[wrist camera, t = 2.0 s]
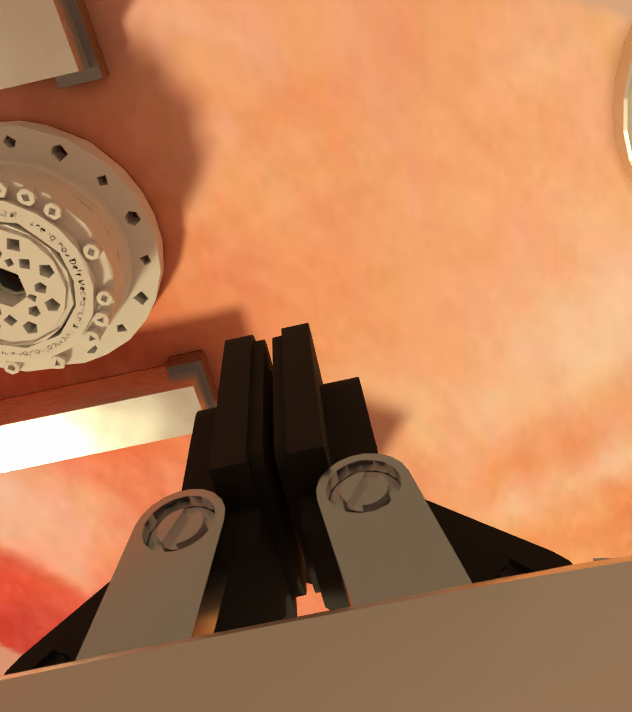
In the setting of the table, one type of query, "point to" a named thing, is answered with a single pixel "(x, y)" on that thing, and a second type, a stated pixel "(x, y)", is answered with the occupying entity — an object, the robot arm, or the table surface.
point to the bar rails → (113, 394)
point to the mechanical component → (70, 250)
